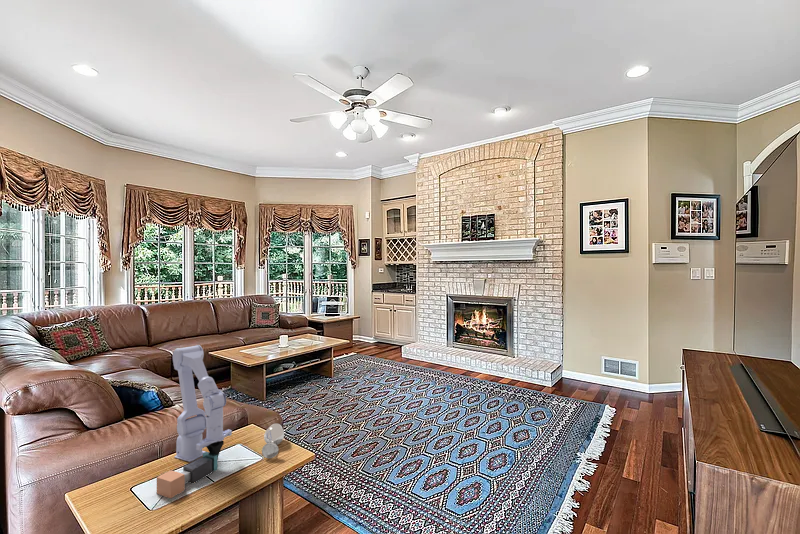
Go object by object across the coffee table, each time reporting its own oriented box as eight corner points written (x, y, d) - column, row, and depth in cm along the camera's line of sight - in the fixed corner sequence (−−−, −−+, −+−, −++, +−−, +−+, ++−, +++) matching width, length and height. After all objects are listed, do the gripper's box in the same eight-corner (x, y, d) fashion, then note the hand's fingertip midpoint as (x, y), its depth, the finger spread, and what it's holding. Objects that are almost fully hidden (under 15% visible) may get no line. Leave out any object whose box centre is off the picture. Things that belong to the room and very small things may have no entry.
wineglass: (283, 456, 152) (287, 435, 170) (277, 437, 152) (282, 418, 169) (262, 463, 151) (268, 441, 168) (257, 444, 150) (263, 424, 168)
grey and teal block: (164, 489, 129) (164, 472, 129) (206, 466, 144) (206, 451, 145) (176, 493, 127) (176, 476, 127) (217, 469, 142) (217, 454, 142)
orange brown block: (156, 493, 127) (156, 477, 128) (170, 485, 132) (170, 470, 132) (170, 498, 125) (170, 481, 125) (184, 490, 129) (184, 474, 129)
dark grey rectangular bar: (183, 480, 135) (183, 466, 135) (202, 469, 143) (202, 456, 143) (193, 483, 133) (193, 469, 133) (212, 472, 141) (212, 459, 141)
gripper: (205, 434, 136) (205, 472, 136) (237, 420, 150) (237, 454, 150) (192, 431, 139) (191, 468, 139) (224, 417, 153) (224, 451, 152)
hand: (214, 461), depth 144 cm, fingers closed
